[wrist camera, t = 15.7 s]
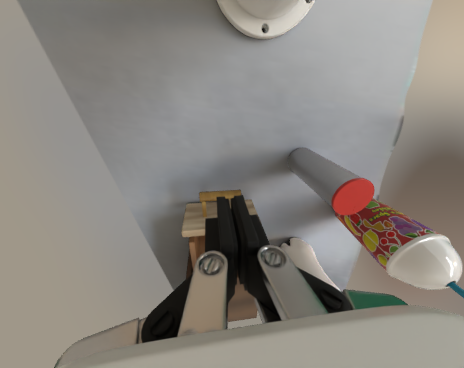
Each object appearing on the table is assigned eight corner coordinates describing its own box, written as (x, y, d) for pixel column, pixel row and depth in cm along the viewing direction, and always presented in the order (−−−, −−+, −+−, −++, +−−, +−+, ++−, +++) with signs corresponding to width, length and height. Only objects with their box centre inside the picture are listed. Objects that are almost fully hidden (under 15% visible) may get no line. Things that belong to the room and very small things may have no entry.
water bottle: (274, 258, 41) (353, 452, 19) (278, 235, 37) (380, 439, 15) (303, 255, 41) (411, 438, 19) (309, 233, 38) (448, 422, 16)
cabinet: (190, 243, 35) (185, 284, 28) (250, 237, 37) (261, 274, 29) (196, 284, 41) (193, 327, 34) (247, 278, 43) (256, 317, 35)
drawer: (183, 181, 28) (176, 205, 22) (252, 178, 29) (264, 199, 23) (193, 254, 36) (191, 286, 30) (248, 248, 37) (256, 279, 31)
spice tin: (289, 147, 28) (340, 180, 17) (315, 146, 29) (381, 178, 18) (285, 173, 30) (328, 217, 20) (309, 171, 31) (365, 214, 20)
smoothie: (371, 182, 34) (550, 278, 16) (359, 216, 38) (492, 323, 20) (331, 187, 33) (473, 292, 15) (323, 221, 37) (428, 336, 19)
